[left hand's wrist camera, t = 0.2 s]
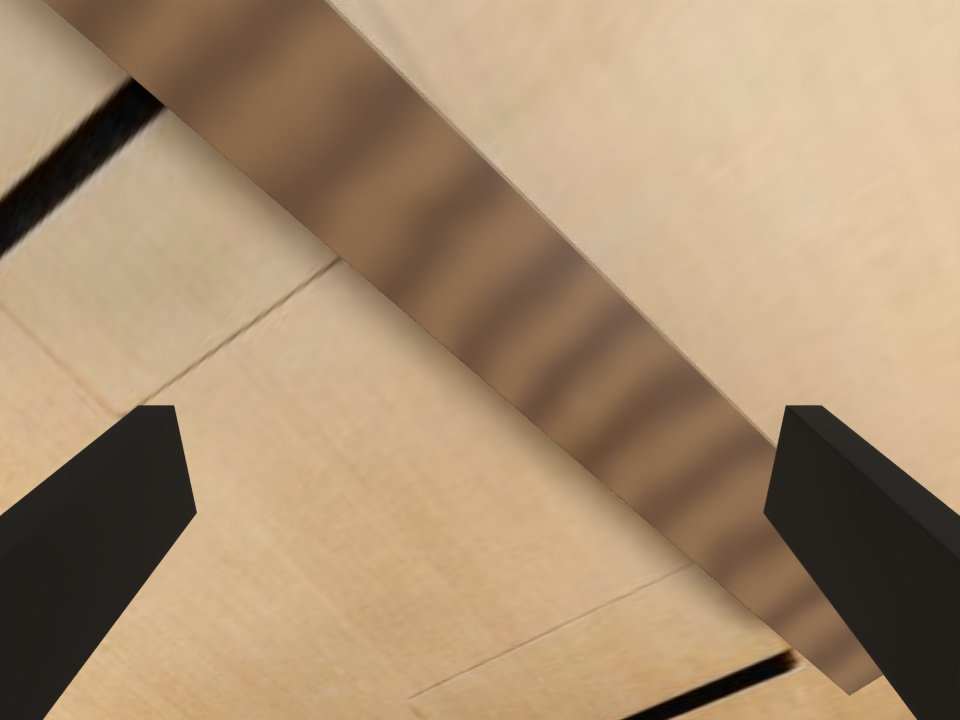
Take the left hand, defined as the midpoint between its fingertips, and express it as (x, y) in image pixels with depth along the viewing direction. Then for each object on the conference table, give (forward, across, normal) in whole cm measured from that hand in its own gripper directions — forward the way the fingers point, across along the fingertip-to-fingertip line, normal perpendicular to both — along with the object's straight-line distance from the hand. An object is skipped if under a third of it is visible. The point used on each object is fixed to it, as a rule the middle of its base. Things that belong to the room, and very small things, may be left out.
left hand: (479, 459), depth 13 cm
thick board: (+28, +2, -2) cm, 28 cm away
